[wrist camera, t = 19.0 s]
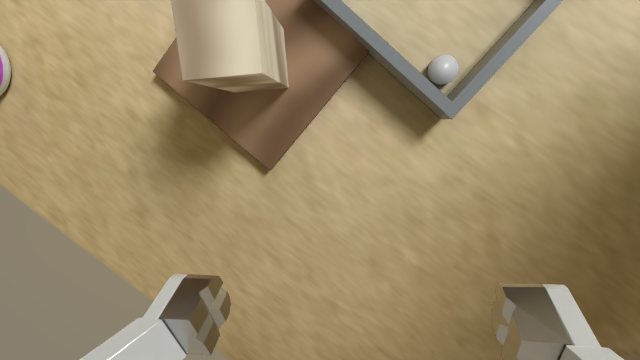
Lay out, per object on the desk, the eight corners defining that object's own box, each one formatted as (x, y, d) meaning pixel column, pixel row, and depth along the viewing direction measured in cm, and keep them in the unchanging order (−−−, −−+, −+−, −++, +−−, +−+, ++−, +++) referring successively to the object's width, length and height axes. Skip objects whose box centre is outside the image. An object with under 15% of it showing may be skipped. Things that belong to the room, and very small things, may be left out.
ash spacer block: (283, 28, 29) (252, -18, 19) (288, 87, 30) (262, 73, 20) (227, 34, 29) (169, -8, 19) (235, 92, 30) (182, 80, 20)
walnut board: (368, 52, 29) (369, 50, 28) (271, 168, 32) (269, 170, 31) (247, -56, 28) (244, -62, 27) (158, 72, 31) (152, 71, 30)
